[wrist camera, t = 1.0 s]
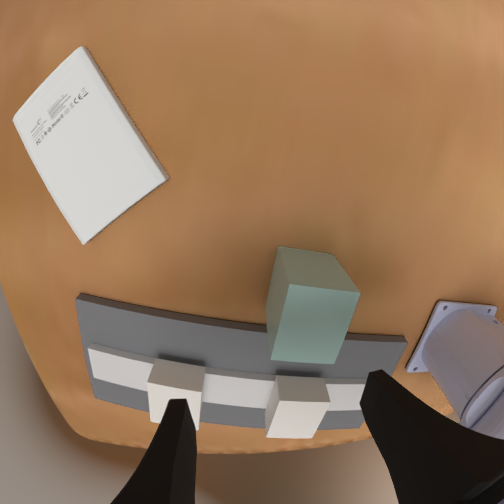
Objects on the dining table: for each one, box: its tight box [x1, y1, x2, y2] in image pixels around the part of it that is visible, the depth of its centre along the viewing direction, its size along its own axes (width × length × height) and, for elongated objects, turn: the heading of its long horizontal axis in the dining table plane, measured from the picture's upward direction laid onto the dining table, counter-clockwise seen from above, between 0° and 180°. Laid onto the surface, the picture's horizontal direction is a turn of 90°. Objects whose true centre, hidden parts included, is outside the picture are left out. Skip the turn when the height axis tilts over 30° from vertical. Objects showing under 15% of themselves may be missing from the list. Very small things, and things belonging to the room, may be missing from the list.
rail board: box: [76, 293, 408, 438], centre depth 23 cm, size 28×12×5 cm, turn 81°
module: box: [265, 246, 361, 364], centre depth 19 cm, size 4×5×6 cm
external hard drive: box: [13, 46, 170, 245], centre depth 17 cm, size 2×8×12 cm
